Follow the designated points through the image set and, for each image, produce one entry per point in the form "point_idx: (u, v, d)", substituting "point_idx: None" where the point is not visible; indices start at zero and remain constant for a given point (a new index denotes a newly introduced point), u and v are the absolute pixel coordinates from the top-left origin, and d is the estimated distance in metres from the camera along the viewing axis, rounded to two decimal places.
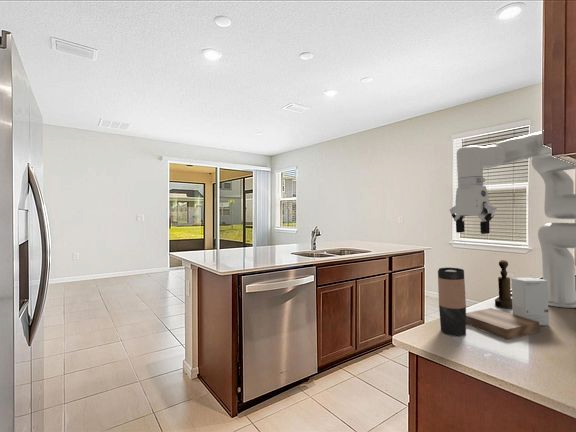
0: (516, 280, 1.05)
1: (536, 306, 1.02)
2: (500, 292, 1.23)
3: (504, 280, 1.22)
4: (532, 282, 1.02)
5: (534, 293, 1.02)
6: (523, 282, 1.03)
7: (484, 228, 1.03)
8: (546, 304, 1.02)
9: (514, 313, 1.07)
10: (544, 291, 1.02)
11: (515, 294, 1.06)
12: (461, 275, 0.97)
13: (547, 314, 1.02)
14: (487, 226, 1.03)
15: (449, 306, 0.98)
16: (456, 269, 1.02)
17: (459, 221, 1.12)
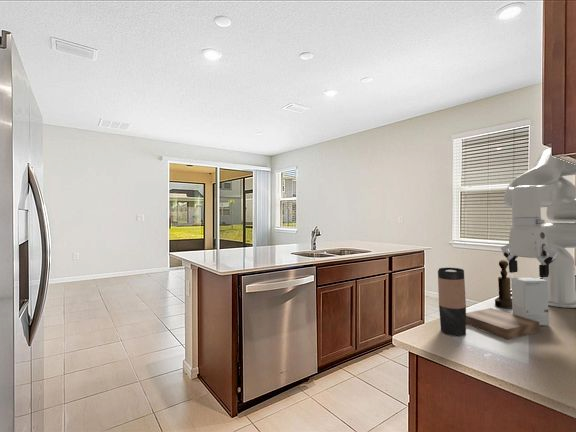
0: (516, 280, 1.05)
1: (536, 306, 1.02)
2: (500, 292, 1.23)
3: (504, 280, 1.22)
4: (532, 282, 1.02)
5: (534, 293, 1.02)
6: (523, 282, 1.03)
7: (543, 272, 0.99)
8: (546, 304, 1.02)
9: (514, 313, 1.07)
10: (544, 291, 1.02)
11: (515, 294, 1.06)
12: (461, 275, 0.97)
13: (547, 314, 1.02)
14: (547, 270, 0.99)
15: (449, 306, 0.98)
16: (456, 269, 1.02)
17: (512, 261, 1.09)
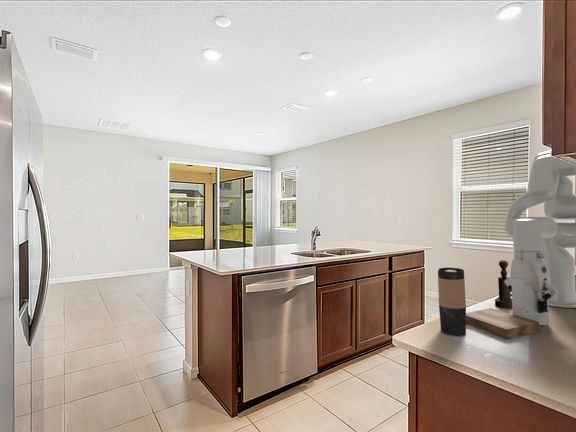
0: (516, 280, 1.05)
1: (536, 306, 1.02)
2: (500, 292, 1.23)
3: (504, 280, 1.22)
4: None
5: (534, 293, 1.02)
6: (523, 282, 1.03)
7: (542, 307, 1.01)
8: None
9: (514, 313, 1.07)
10: None
11: (515, 294, 1.06)
12: (461, 275, 0.97)
13: (547, 314, 1.02)
14: (545, 305, 1.00)
15: (449, 306, 0.98)
16: (456, 269, 1.02)
17: None
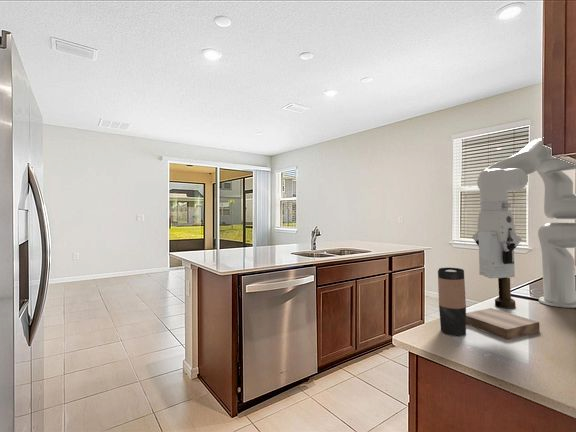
0: (483, 232, 1.03)
1: (501, 257, 1.00)
2: (500, 292, 1.23)
3: (504, 280, 1.22)
4: None
5: (500, 245, 1.00)
6: (489, 233, 1.00)
7: (507, 258, 0.99)
8: (512, 256, 1.00)
9: (481, 267, 1.04)
10: None
11: (482, 247, 1.04)
12: (461, 275, 0.97)
13: (513, 266, 1.00)
14: (510, 256, 0.98)
15: (449, 306, 0.98)
16: (456, 269, 1.02)
17: None
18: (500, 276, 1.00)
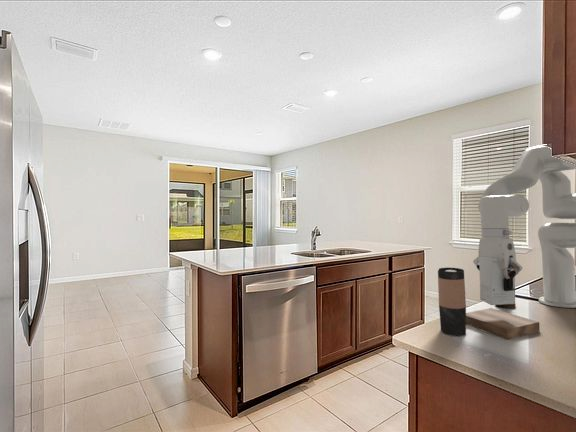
0: (483, 258, 1.03)
1: (502, 284, 1.00)
2: None
3: None
4: None
5: (500, 271, 1.00)
6: (490, 260, 1.00)
7: (507, 285, 0.99)
8: (513, 282, 1.00)
9: (481, 292, 1.04)
10: None
11: (483, 273, 1.04)
12: (461, 275, 0.97)
13: (514, 293, 1.00)
14: (511, 283, 0.98)
15: (449, 306, 0.98)
16: (456, 269, 1.02)
17: None
18: (501, 303, 1.00)
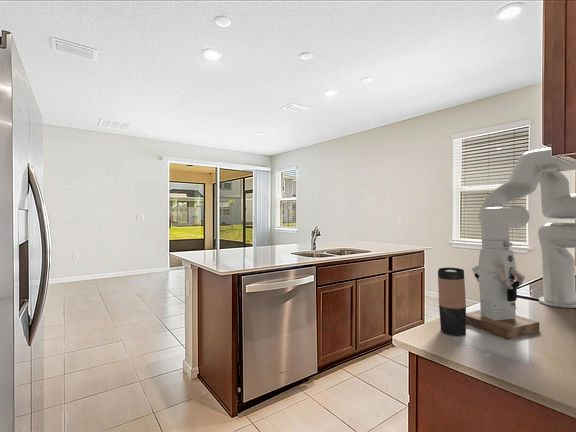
0: (484, 274, 1.04)
1: (503, 300, 1.01)
2: None
3: None
4: None
5: (501, 287, 1.01)
6: (490, 276, 1.01)
7: (511, 296, 0.98)
8: None
9: (482, 308, 1.05)
10: None
11: (483, 288, 1.04)
12: (461, 275, 0.97)
13: (514, 308, 1.01)
14: (514, 294, 0.98)
15: (449, 306, 0.98)
16: (456, 269, 1.03)
17: None
18: (502, 318, 1.01)
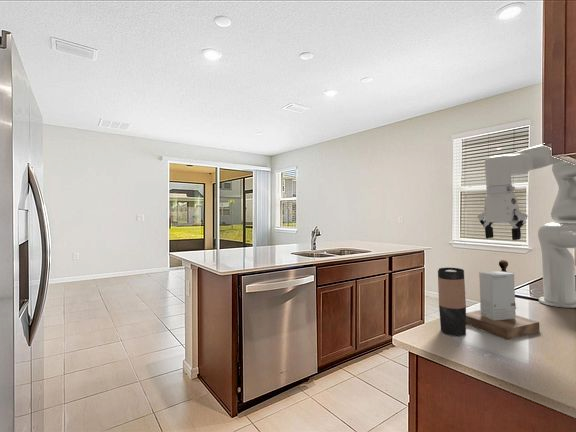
0: (484, 274, 1.04)
1: (503, 300, 1.01)
2: None
3: None
4: (499, 275, 1.01)
5: (501, 287, 1.01)
6: (491, 276, 1.01)
7: (516, 234, 1.07)
8: (513, 298, 1.01)
9: (482, 308, 1.05)
10: (511, 284, 1.01)
11: (483, 288, 1.04)
12: (461, 275, 0.97)
13: (514, 308, 1.01)
14: (518, 232, 1.07)
15: (449, 306, 0.98)
16: (456, 269, 1.03)
17: (488, 227, 1.16)
18: (502, 318, 1.01)
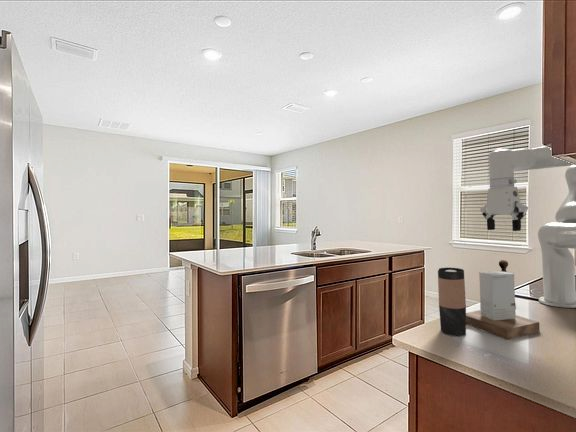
0: (484, 274, 1.04)
1: (503, 300, 1.01)
2: None
3: None
4: (499, 275, 1.01)
5: (501, 287, 1.01)
6: (491, 276, 1.01)
7: (516, 226, 1.11)
8: (513, 298, 1.01)
9: (482, 308, 1.05)
10: (511, 284, 1.01)
11: (483, 288, 1.04)
12: (461, 275, 0.97)
13: (514, 308, 1.01)
14: (519, 224, 1.11)
15: (449, 306, 0.98)
16: (456, 269, 1.02)
17: (490, 219, 1.21)
18: (502, 318, 1.01)
